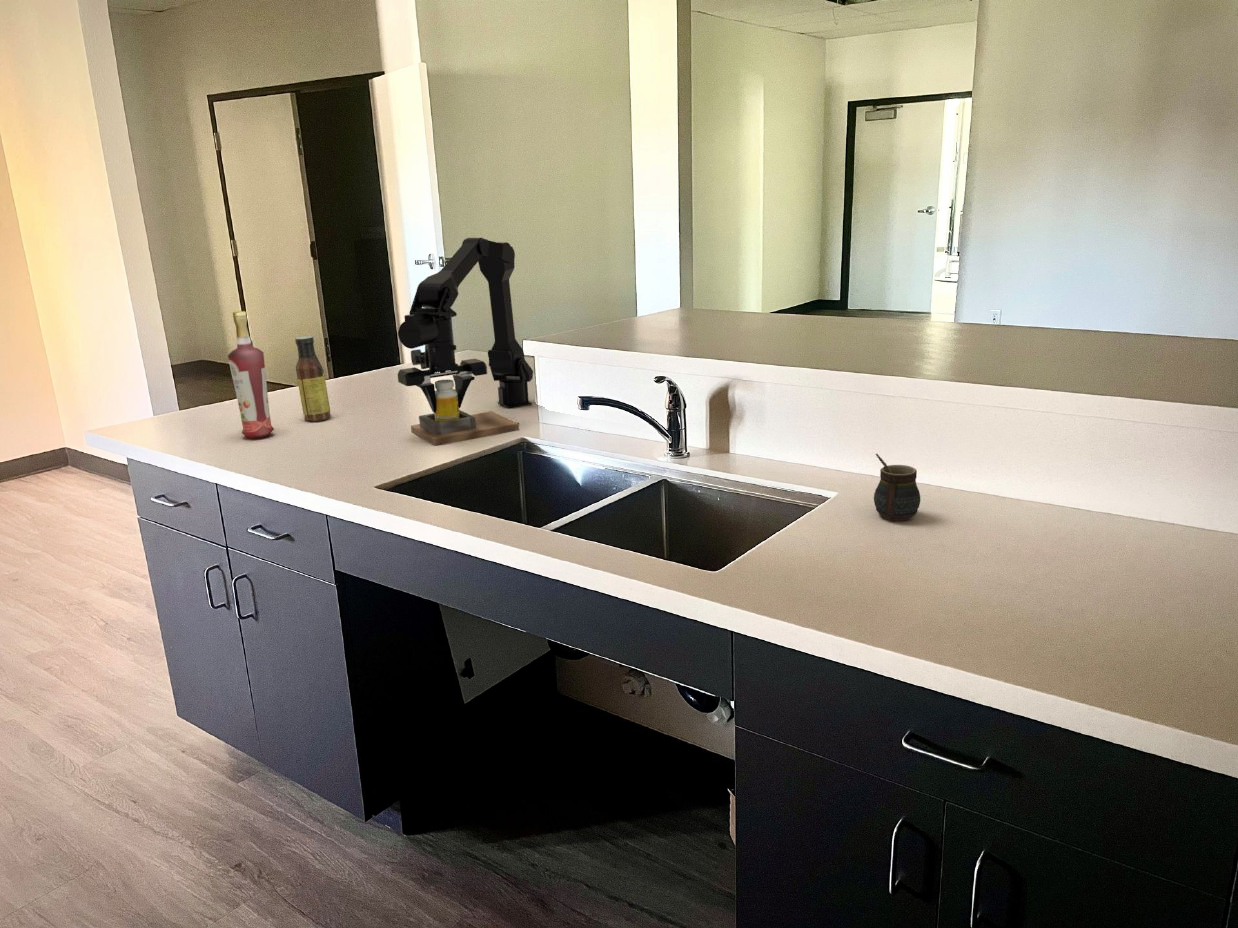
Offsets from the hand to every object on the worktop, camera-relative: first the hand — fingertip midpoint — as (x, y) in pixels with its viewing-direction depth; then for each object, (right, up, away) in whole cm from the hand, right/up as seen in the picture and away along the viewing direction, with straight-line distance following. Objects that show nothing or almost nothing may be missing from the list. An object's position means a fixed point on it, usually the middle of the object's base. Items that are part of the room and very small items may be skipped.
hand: (446, 410), depth 199 cm
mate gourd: (+83, -20, -54) cm, 101 cm away
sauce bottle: (-35, -1, +18) cm, 39 cm away
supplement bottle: (0, -3, +1) cm, 3 cm away
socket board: (+3, -4, +4) cm, 7 cm away
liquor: (-43, -6, +5) cm, 44 cm away
